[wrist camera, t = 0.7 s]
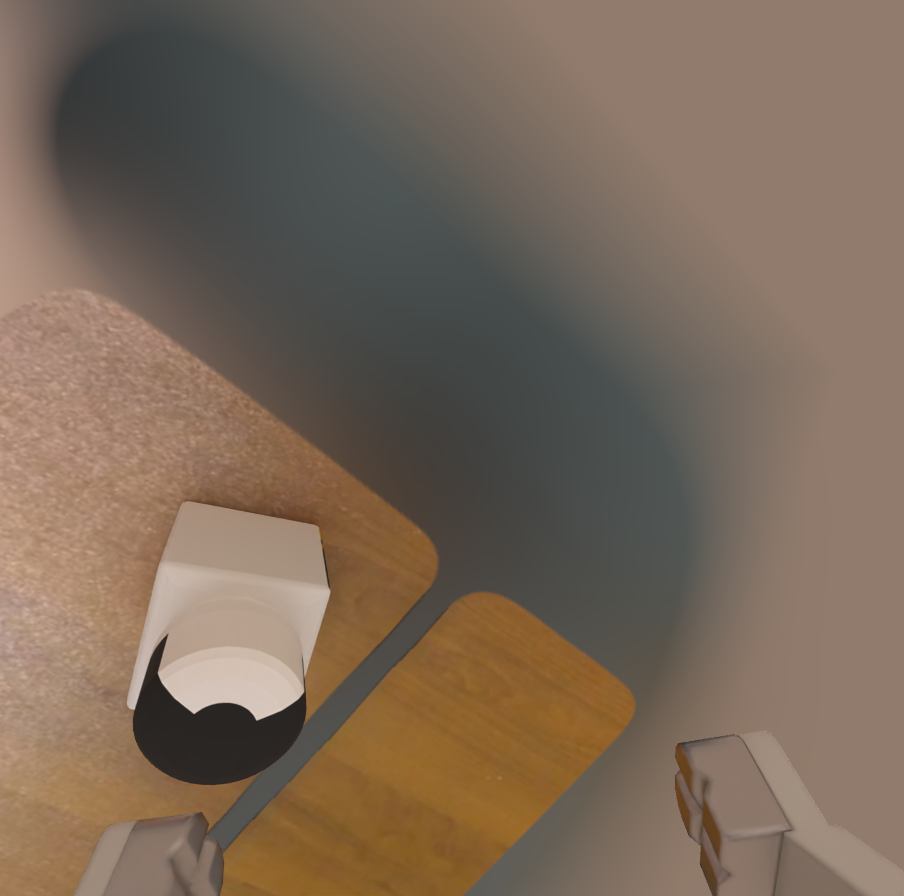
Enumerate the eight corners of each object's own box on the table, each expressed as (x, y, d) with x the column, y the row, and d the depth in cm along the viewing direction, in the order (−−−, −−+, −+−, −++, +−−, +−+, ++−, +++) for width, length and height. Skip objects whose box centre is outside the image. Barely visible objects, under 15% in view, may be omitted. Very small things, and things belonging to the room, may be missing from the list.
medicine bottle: (288, 636, 35) (295, 814, 24) (153, 620, 33) (92, 808, 22) (321, 523, 34) (344, 658, 23) (182, 497, 31) (133, 633, 20)
